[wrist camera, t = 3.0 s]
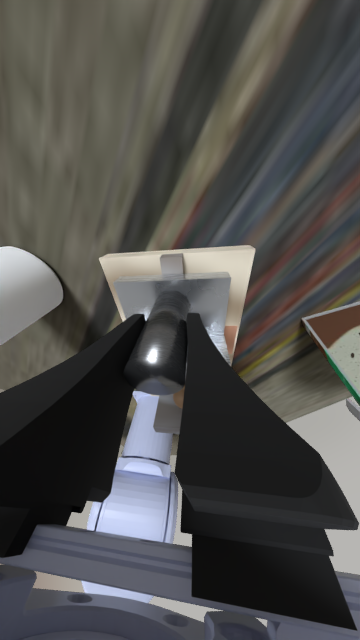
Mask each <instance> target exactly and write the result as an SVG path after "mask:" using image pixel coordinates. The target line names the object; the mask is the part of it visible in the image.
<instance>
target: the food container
mask: <svg viewBox="0 0 360 640" xmlns="http://www.w3.org/2000/svg"><path fill="white" fill-rule="evenodd" d="M301 319H302V323H303V327H304V328H305V329H306V331H307V332H308V334H309V335H310V336H311V338H312V339H313V341H314V342H315V344H316V345H317V346H318V348H319V349H320V351H321V352H322V353H323V355H324V356H325V358H326V359H327V361H328V362H329V363H330V365H331V366H332V368H333V369H334V370H335V372H336V373H337V375H338V376H339V378H340V379H341V380H342V382H343V383H344V385H345V386H346V387H347V389H348V390H349V392H350V393H351V394H352V396H353V397H354V399H355V400H356V402H357V403H358V404H359V406H360V302H356V303H353V304H349V305H346V306H342V307H339V308H336V309H332V310H329V311H325V312H322V313H318V314H315V315H311V316H308V317H305V318H301ZM346 405H347V407H348V409H349V411H350V412H351V413H352V414H353V415H354V416H355V417H356V418H357V419H358V420H359V421H360V408H359V407H358V406H357V405H356V404H355V403H353V402H352V401H351V400H350V399H349V398H348V399H346Z"/></svg>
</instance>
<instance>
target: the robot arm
mask: <svg viewBox="0 0 360 640" xmlns="http://www.w3.org/2000/svg"><path fill="white" fill-rule="evenodd" d="M186 321H187V337H188V357H187V369H186V379H185V389H184V399H183V408H182V417H181V425H180V434H179V442H178V450H177V458H176V467H175V473H174V472H171V465H169V463H170V453H171V447H172V438H173V434H172V433H160V432H155V430H154V428H153V425H154V419H155V414H156V409H157V404H158V399H159V396H151V395H150V394H147V393H144V392H141V391H134V388H133V387H132V386H131V385H130V384H128V382H127V381H126V380H125V378H124V375H123V372H124V369H125V366H126V364H127V362H128V360H129V358H130V355H131V353H132V351H133V349H134V347H135V345H136V342H137V340H138V338H139V336H140V334H141V331H142V329H143V327H144V325H145V323H146V320H145V316H144V314H133V315H132V316H130V317H129V318H127V319H126V320H125V321H123V322H122V323H121V324H120V325H118V326H117V327H116V328H114V329H113V330H112V331H110V332H109V333H107V334H106V335H105V336H103V337H102V338H100V339H99V340H97V341H96V342H95V343H93V344H92V345H90V346H89V347H87V348H86V349H84V350H83V351H81V352H79V353H78V354H76V355H74V356H73V357H71V358H69V359H68V360H66V361H64V362H62V363H60V364H58V365H57V366H55V367H53V368H51V369H49V370H47V371H45V372H43V373H41V374H39V375H38V376H36V377H34V378H32V379H29V380H27V381H25V382H23V383H21V384H19V385H17V386H15V387H12V388H10V389H8V390H6V391H4V392H1V393H0V563H1V564H5V565H0V640H360V575H356V574H350V573H344V572H338V571H334V568H333V566H332V563H331V561H330V558H329V556H334V555H333V550H332V547H331V545H330V542H329V540H328V538H327V535H326V532H325V530H324V529H337V530H357V529H358V525H359V522H358V521H357V519H356V517H355V515H354V513H353V511H352V509H351V507H350V505H349V503H348V501H347V499H346V497H345V496H344V494H343V492H342V490H341V488H340V487H339V485H338V483H337V482H336V480H335V478H334V477H333V475H332V473H331V472H330V470H329V469H328V467H327V465H326V464H325V462H324V461H323V459H322V457H321V456H320V454H319V453H318V452H317V451H316V450H315V449H314V448H312V447H311V446H310V445H309V444H308V443H307V442H306V441H305V440H304V439H302V438H301V437H300V436H299V435H298V434H297V433H296V432H295V431H293V430H292V429H291V428H290V427H289V426H288V425H287V424H286V423H285V422H284V421H283V420H282V419H281V418H279V417H278V416H277V415H276V414H275V413H274V412H273V411H272V410H271V409H270V408H269V407H268V406H267V405H266V404H265V403H264V402H263V401H262V400H261V399H260V398H259V397H258V396H257V395H256V394H255V393H254V392H253V391H252V390H251V389H250V388H249V386H248V385H247V384H246V383H245V382H244V381H243V380H242V379H241V378H240V377H239V376H238V375H237V373H236V372H235V371H234V370H233V369H232V367H231V366H230V365H229V364H228V362H227V361H226V360H225V359H224V357H223V356H222V355H221V353H220V352H219V350H218V349H217V347H216V346H215V344H214V343H213V341H212V340H211V338H210V336H209V334H208V333H207V331H206V329H205V327H204V325H203V323H202V320H201V317H200V314H199V313H187V319H186ZM132 394H133V396H134V398H135V400H136V402H137V407H136V410H135V414H134V417H133V420H132V423H131V427H130V430H129V433H128V437H127V440H126V443H125V446H124V450H123V453H122V456H121V457H119V458H118V461H117V457H118V452H119V448H120V443H121V438H122V434H123V430H124V425H125V421H126V417H127V413H128V409H129V405H130V402H131V398H132ZM116 462H117V463H116ZM175 475H176V476H175ZM176 477H177V478H176ZM177 479H178V481H179V483H180V485H181V487H182V489H183V490H182V511H181V532H182V533H188V534H192V547H189V546H182V545H177V544H173V539H174V533H175V528H176V518H177V506H178V481H177ZM86 501H93V505H92V508H91V512H90V515H89V519H88V524H87V529H80V528H74V527H68V526H66V525H67V522H68V520H69V517H70V515H71V512H77V513H82V511H83V509H84V507H85V504H86ZM34 571H38V572H43V573H48V574H53V575H57V576H62V577H67V578H71V579H76V580H81V582H82V585H83V588H84V591H85V593H79V592H68V591H58V590H46V589H36V588H32V587H33V585H34V583H35V580H36V578H37V577H36V573H35V572H34ZM154 596H157V597H162V598H166V599H171V600H177V601H180V602H185V603H190V604H195V605H199V606H204V607H209V608H214V609H218V610H223V611H214V612H213V611H211V612H207V613H206V615H205V617H204V623H203V622H201V621H198V620H195V619H192V618H190V617H187V616H184V615H181V614H179V613H176V612H173V611H171V610H168V609H165V608H162V607H159V606H155V605H152V604H149V602H150V600H151V599H152V598H153V597H154ZM255 617H256V618H261V619H266V620H268V622H267V628H266V627H265V626H264V625H263V624H262V623H261V622H260V621H259V620H258V619H256V618H255Z"/></svg>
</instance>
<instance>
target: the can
mask: <svg viewBox="0 0 360 640" xmlns="http://www.w3.org/2000/svg"><path fill="white" fill-rule="evenodd" d="M62 300H63V288H62V285H61V282H60V280H59V278H58V277H57V275H56V274H55V273H54V271H53V270H52V269H51V268H50V267H49V266H48V265H47V264H46V263H45V262H43V261H42V260H41V259H39V258H38V257H36V256H34V255H33V254H31V253H29V252H26V251H24V250H22V249H19V248H15V247H10V246H7V247H0V345H2V344H3V343H5V342H6V341H8V340H9V339H11V338H12V337H14V336H15V335H17V334H18V333H19V332H21V331H22V330H24V329H25V328H27V327H28V326H30V325H31V324H33V323H34V322H36V321H37V320H38V319H40V318H41V317H43V316H44V315H46V314H47V313H49V312H50V311H51V310H53V309H54V308H56V307H57V306H58V305H59V304H60V303H61V302H62Z"/></svg>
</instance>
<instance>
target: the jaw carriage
mask: <svg viewBox="0 0 360 640" xmlns="http://www.w3.org/2000/svg"><path fill="white" fill-rule="evenodd" d="M113 284H114V287H115V290H116V292H117V295H118V298H119V301H120V304H121V306H122V309H123V312H124V315H125V318H126V319H127V318H129V317H130V316H132V315H133V314H144V316H145V320H146V323H145V325H144V327H143V329H142V331H141V334H140V336H139V338H138V340H137V342H136V345H135V347H134V349H133V351H132V353H131V355H130V358H129V360H128V362H127V364H126V366H125V369H124V372H123V375H124V378H125V380H126V381H127V382H128V384H130V385H131V386H132V387H133V388H135V389H137V390H139V391H141V392H144V393H147V394H152V395H171V394H175V393H177V392H179V391H180V390H182V389H183V387H184V385H185V377H186V369H187V357H188V337H187V321H186V319H187V313H199V314H200V317H201V320H202V323H203V325H204V327H205V329H206V331H207V333H208V334H209V336H210V338H211V340H212V341H213V343H214V344H215V346H216V347H217V349H218V350H219V352H220V353H221V355H222V356H223V357H224V359H225V360H226V361H227V362H228V364H229V365H231V362H230V358H229V354H228V349H227V345H226V341H225V336H224V328H225V321H226V314H227V306H228V299H229V291H230V284H231V276H230V275H229V273H228V272H210V273H188V274H165V275H143V276H120V277H119V278H118V279H117V280H115V281H114V282H113Z"/></svg>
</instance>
